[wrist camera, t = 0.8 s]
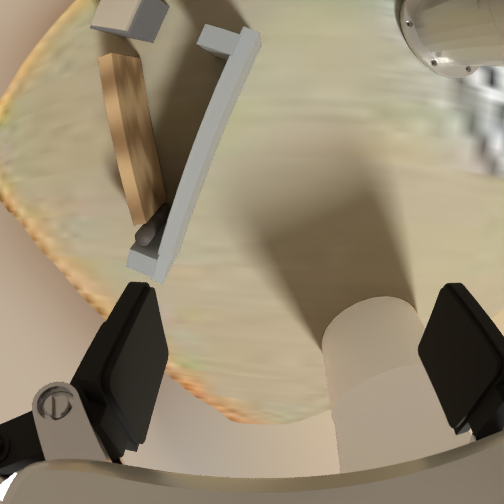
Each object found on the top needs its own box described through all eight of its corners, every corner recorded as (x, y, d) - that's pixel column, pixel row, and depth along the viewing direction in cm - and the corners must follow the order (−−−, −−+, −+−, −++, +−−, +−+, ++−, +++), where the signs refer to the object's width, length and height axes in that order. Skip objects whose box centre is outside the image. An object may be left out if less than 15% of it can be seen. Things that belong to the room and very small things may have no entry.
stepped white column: (423, 347, 49) (473, 478, 25) (339, 381, 54) (358, 518, 29) (409, 279, 42) (490, 441, 18) (305, 323, 47) (322, 502, 22)
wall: (224, 32, 28) (210, 14, 20) (261, 45, 28) (259, 29, 21) (149, 238, 41) (124, 274, 33) (179, 250, 41) (160, 289, 34)
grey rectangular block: (133, 0, 25) (105, -15, 19) (169, 6, 26) (146, -11, 19) (118, 35, 28) (86, 27, 21) (153, 43, 28) (126, 33, 22)
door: (172, 215, 39) (152, 245, 32) (159, 217, 39) (137, 246, 32) (142, 58, 29) (111, 52, 22) (128, 62, 29) (95, 58, 22)
